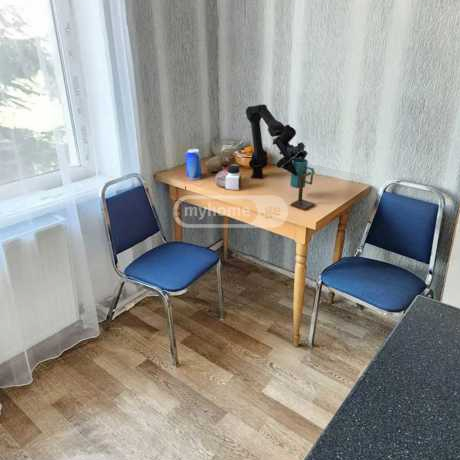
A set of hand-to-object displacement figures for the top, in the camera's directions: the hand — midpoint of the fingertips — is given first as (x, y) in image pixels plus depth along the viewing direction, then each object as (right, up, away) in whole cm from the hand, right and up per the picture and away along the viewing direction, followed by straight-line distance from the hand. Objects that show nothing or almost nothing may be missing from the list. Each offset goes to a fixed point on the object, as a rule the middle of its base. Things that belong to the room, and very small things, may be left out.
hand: (301, 173), depth 191 cm
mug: (0, -6, +2) cm, 7 cm away
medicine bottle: (-31, -6, +17) cm, 36 cm away
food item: (-37, -4, +22) cm, 43 cm away
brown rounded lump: (-43, +7, +46) cm, 64 cm away
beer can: (-55, 0, +32) cm, 63 cm away
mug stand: (+3, -14, -2) cm, 15 cm away
